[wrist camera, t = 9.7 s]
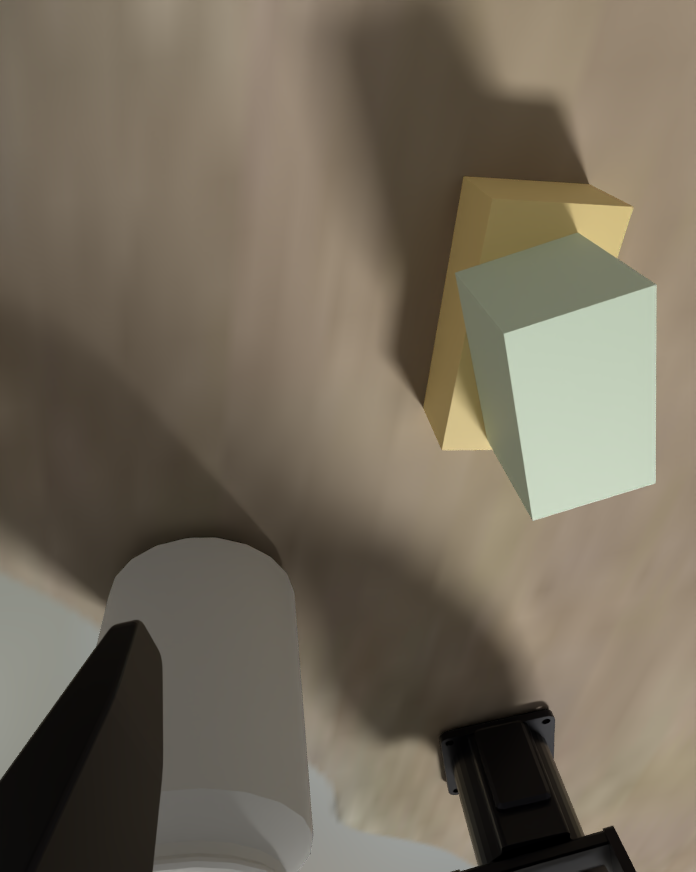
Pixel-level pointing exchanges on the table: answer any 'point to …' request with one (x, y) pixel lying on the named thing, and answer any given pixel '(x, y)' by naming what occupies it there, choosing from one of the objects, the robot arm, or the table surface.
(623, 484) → the sage brick
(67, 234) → the table surface
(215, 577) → the can
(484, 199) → the ochre brick
